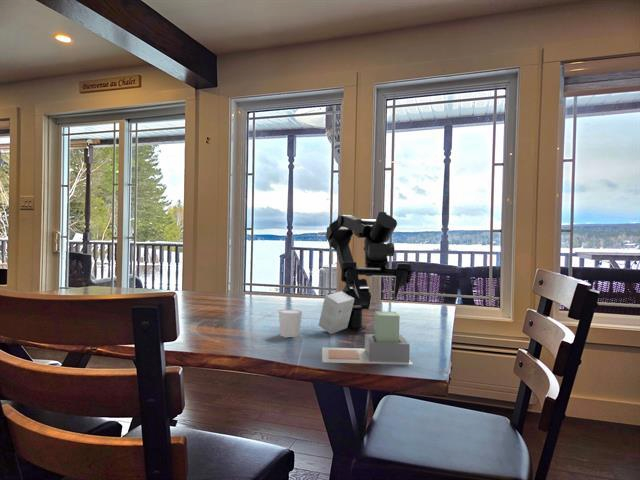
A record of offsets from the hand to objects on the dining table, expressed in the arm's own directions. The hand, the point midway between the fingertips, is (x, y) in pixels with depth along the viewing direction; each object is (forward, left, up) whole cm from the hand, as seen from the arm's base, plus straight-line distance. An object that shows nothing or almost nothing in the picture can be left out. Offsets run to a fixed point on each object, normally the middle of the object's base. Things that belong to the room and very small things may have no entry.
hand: (377, 297), depth 100 cm
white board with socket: (+9, +1, -13) cm, 16 cm away
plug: (+6, +5, -12) cm, 15 cm away
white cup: (-1, -27, -14) cm, 31 cm away
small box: (-13, -20, -12) cm, 27 cm away
